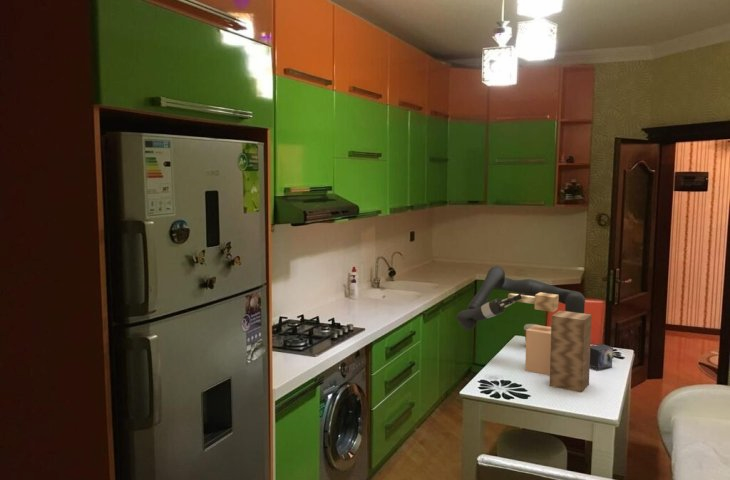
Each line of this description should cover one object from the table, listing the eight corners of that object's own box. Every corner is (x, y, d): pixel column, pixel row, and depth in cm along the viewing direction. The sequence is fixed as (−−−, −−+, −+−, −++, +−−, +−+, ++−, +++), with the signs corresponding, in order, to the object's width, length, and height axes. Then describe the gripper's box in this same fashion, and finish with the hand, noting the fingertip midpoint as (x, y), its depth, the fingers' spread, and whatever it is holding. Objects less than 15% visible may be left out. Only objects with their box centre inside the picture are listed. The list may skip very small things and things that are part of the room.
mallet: (506, 304, 282) (506, 290, 281) (511, 302, 288) (512, 288, 287) (553, 312, 269) (554, 297, 268) (557, 309, 275) (558, 294, 274)
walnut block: (549, 386, 256) (551, 315, 253) (557, 378, 266) (559, 310, 263) (581, 392, 249) (584, 320, 245) (588, 384, 258) (591, 314, 255)
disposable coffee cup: (526, 343, 321) (527, 322, 320) (543, 346, 316) (544, 325, 314) (520, 348, 313) (521, 326, 312) (537, 351, 308) (538, 329, 307)
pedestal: (525, 370, 277) (526, 330, 275) (533, 363, 287) (534, 324, 285) (554, 376, 269) (555, 334, 267) (561, 369, 279) (563, 328, 277)
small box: (597, 371, 275) (598, 350, 274) (586, 367, 281) (587, 346, 280) (612, 368, 280) (613, 347, 279) (601, 364, 286) (602, 343, 285)
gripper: (483, 304, 285) (513, 290, 275) (494, 299, 296) (523, 286, 287) (490, 318, 284) (520, 305, 274) (501, 312, 295) (530, 299, 285)
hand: (522, 295), depth 280 cm, fingers closed on mallet, 3 cm apart
